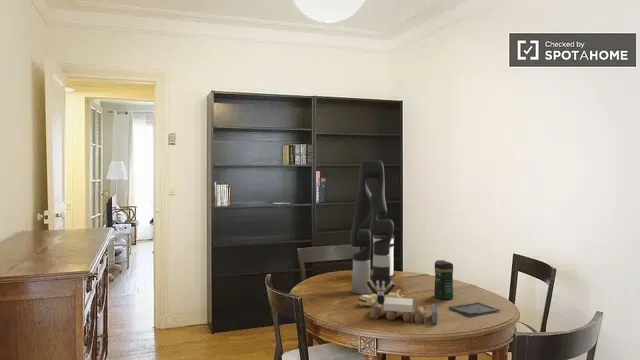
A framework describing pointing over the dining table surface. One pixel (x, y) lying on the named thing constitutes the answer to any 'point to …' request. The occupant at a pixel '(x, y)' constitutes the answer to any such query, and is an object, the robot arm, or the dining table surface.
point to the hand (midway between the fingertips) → (380, 303)
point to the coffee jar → (443, 279)
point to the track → (392, 314)
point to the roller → (419, 314)
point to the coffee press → (379, 237)
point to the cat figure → (372, 298)
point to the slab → (398, 304)
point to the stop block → (434, 313)
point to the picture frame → (473, 309)
